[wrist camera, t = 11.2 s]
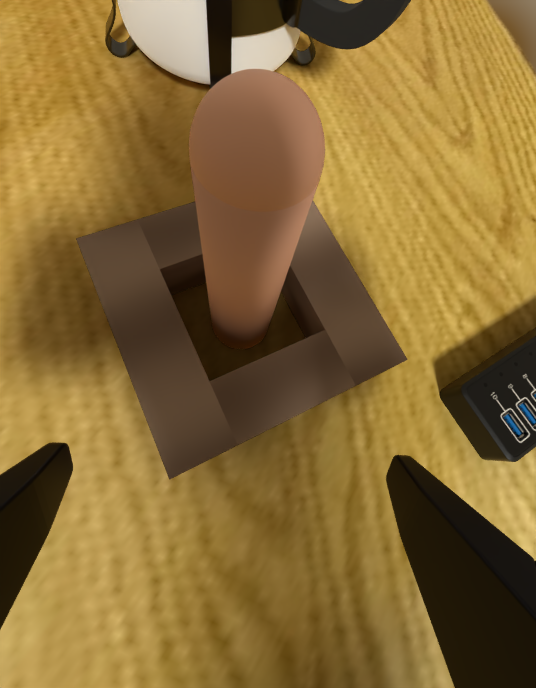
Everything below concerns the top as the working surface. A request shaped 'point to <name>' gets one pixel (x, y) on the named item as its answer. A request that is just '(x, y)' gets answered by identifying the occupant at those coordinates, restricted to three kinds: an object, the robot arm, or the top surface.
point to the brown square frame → (252, 379)
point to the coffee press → (243, 32)
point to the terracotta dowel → (252, 194)
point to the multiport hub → (498, 402)
